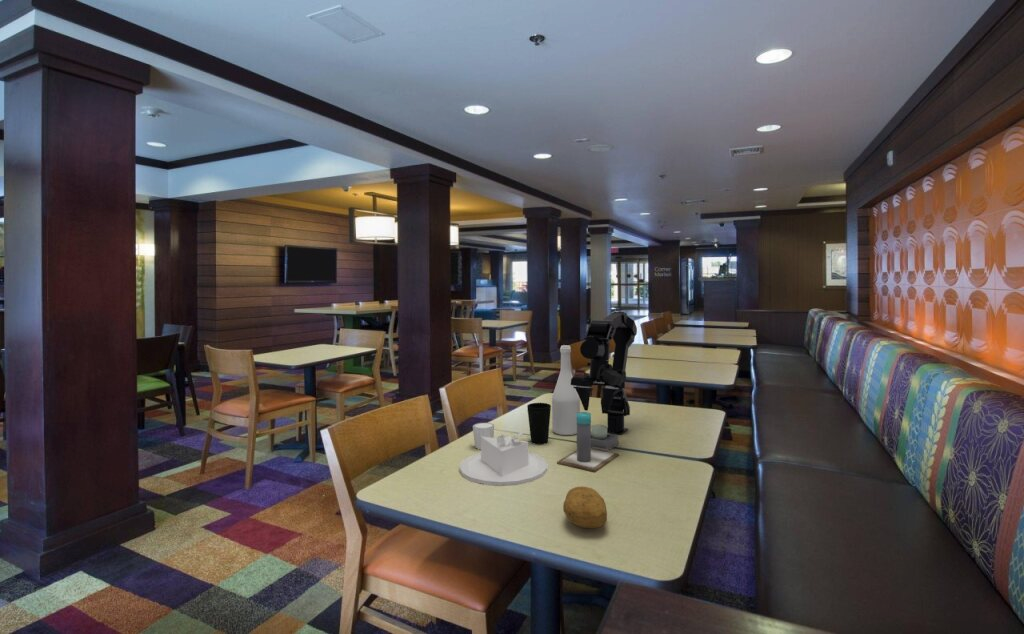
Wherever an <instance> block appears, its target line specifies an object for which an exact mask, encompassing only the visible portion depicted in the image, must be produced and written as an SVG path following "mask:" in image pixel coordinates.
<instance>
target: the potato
mask: <svg viewBox="0 0 1024 634" xmlns="http://www.w3.org/2000/svg"><path fill="white" fill-rule="evenodd" d="M562 506H563V508H562V509H563V513H564V515H565V516H566V518H567V519H568V520H569V521H570V522H571V523H572V524H574V525H576V526H578V528H584V529H597V528H601V527H603V526H604V525H605V524H606V523H607V519H608V511H607V505H606V502H605V499H604V497H602V495H600V493H599V492H597V490H596V489H593V488H592V487H587V486H581V485H580V486H575V487H572V488H571V489H569V490H568V491H567V493H566V495H565V500H564V501H563V505H562Z"/></svg>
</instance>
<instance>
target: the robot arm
mask: <svg viewBox="0 0 1024 634" xmlns="http://www.w3.org/2000/svg"><path fill="white" fill-rule="evenodd" d="M637 333H638V327H637V325H636V322H635V320H634V319H633V318H631V317H629V316H628V314H627V312H625V311H613V312H611V313H610V314H608V315H607V316H606V317H604V318H603V319H594V320H593V319H592V320H591V322H590V323H589V325H588V327H587V330H586V332H585V335H584V341H583V342H582V343H581V344H580V347H579V350H580V351H579V352H580V354H581V355H582V356H583V358H584V359H587V360H589V362H587V364H586V366H588V367H589V375H586V376H577V375H575V376H574V375H572V376H573V377H572V379H571V385H574V386H576V387H574V388H575V389H576V391H577V393H578V395H579V397H580V403H581V404H582V408H583V409H584V411H585V412H586V411H587V412H588V411H589V406H590V397H591V393H592V391H593V390H594V388H592V386H602V388H601V389H602V396H601V397H600V406H601V413H602V414H606V415H607V417H606V418H607V423H606V424H607V425H606V426H607V433H610V434H615V435H622V434H624V433H626V432H627V431H628V430H629V428H627V427H625V417H627V416H630V415H631V406H630V404H629V400H628V397H627V396H628V395H627V393H626V390H625V385H626V384H625V382H626V379H627V371H626V368H627V361H628V354H629V348H630V347H631V346H632V344H633V343H634V342H635V339H636V336H637ZM612 340H613V342H614V344H615V345H614V350H613V351H614V353H613V360H612V364H611V363H610V347H611V343H610V342H611V341H612Z"/></svg>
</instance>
